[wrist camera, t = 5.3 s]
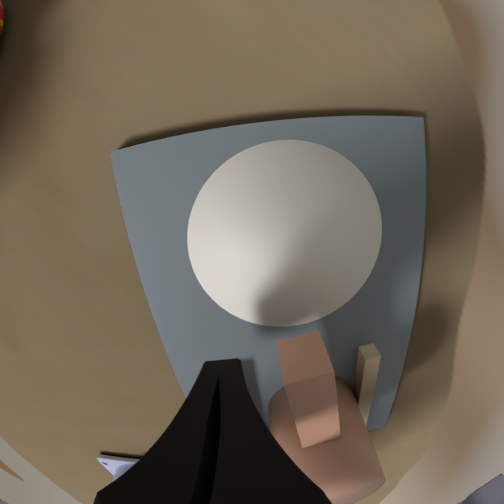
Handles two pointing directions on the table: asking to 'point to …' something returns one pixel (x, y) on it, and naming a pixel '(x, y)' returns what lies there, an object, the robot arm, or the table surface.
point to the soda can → (1, 16)
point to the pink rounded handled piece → (322, 423)
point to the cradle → (366, 377)
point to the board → (281, 243)
